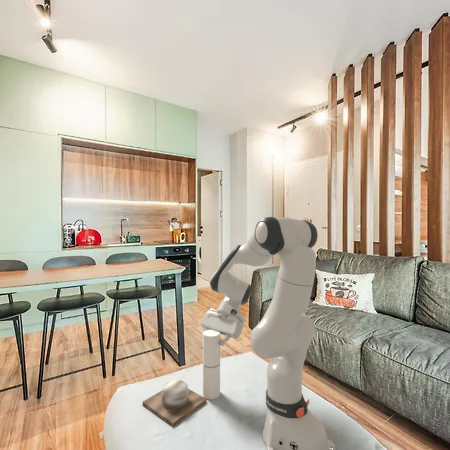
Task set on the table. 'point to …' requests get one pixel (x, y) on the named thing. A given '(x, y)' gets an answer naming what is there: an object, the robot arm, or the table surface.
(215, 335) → the cylindrical container
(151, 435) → the table surface
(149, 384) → the table surface
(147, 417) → the table surface
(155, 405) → the base
